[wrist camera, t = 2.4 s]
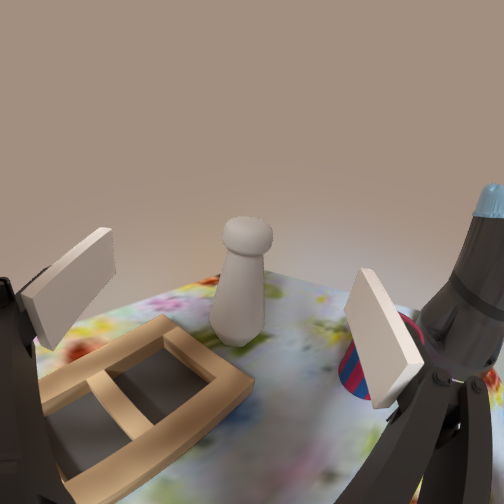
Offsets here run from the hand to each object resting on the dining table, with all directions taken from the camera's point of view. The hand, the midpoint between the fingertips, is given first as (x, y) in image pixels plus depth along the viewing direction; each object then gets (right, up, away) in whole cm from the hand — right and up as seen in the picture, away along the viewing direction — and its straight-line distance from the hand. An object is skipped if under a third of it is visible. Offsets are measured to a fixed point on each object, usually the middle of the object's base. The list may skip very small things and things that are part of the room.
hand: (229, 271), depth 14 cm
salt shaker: (-1, -8, +15) cm, 17 cm away
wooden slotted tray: (-12, -14, +1) cm, 18 cm away
